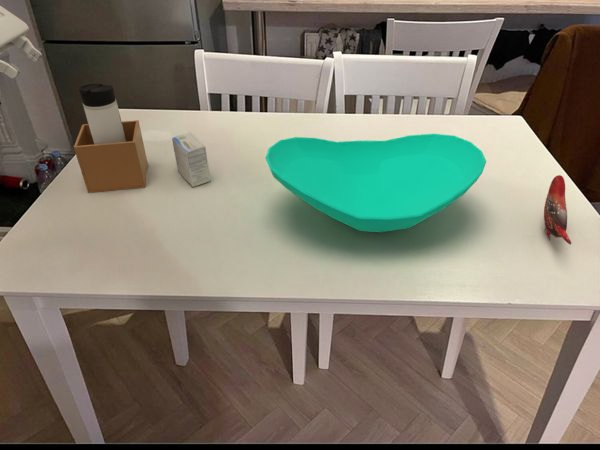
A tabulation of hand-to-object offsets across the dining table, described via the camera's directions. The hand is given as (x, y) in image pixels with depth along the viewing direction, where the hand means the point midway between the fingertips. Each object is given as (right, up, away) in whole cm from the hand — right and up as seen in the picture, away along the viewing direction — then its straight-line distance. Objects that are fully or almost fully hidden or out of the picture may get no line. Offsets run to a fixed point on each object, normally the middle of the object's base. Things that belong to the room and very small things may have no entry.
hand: (28, 66), depth 86 cm
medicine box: (+27, -19, +16) cm, 37 cm away
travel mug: (+11, -19, +15) cm, 26 cm away
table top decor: (+64, -27, +5) cm, 70 cm away
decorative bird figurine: (+96, -33, -1) cm, 102 cm away
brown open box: (+11, -19, +15) cm, 27 cm away
